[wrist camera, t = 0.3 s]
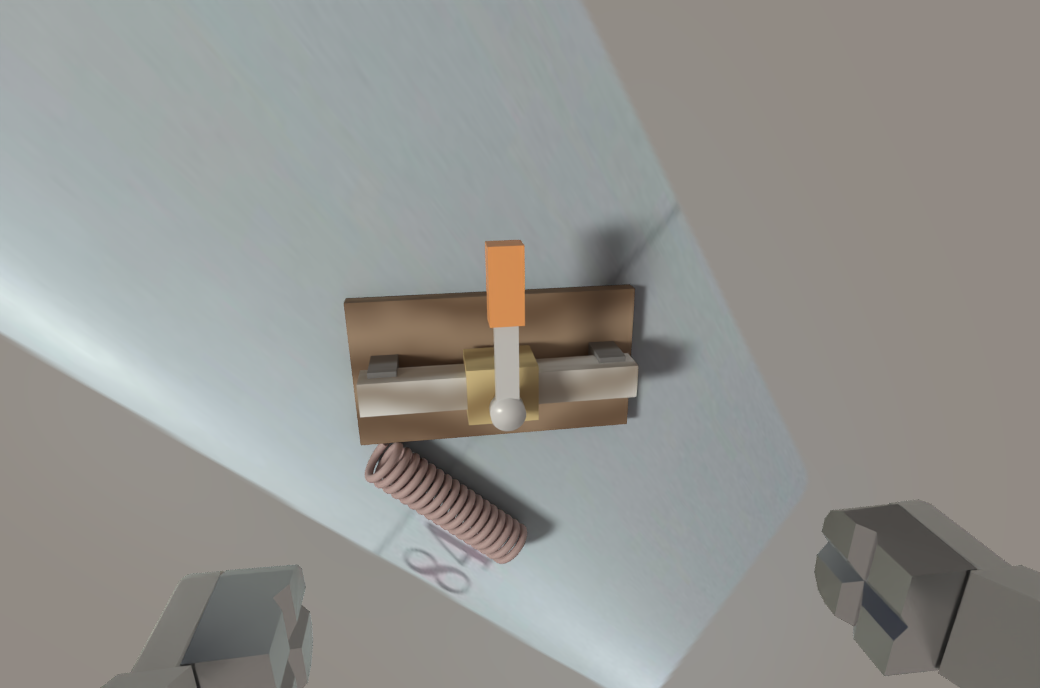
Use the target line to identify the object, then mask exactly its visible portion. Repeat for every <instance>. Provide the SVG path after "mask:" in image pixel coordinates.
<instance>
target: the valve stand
mask: <svg viewBox="0 0 1040 688" xmlns="http://www.w3.org/2000/svg"><path fill="white" fill-rule="evenodd" d="M634 296H635V288H633V287H632V286H631V285H630V284H629V285H608V286H588V287H568V288H548V289H528V290H525V326H519V397H520V398H521V399H522V401H523V404H524V407H525V410H526V419H525V421H524V423H523V424H522V425H521V426H520V427H519V428H518V429H516V430H513V431H502V430H499V429H498V428H496V427H495V426H494V425H493V423H492V420H491V416H490V411H489V406H490V402H491V401H492V399H493V398H494V397H495V366H494V329H493V328H490V326H489V323H488V320H487V292H467V293H447V294H427V295H407V296H386V297H366V298H346V299H345V302H344V310H345V318H346V326H347V335H348V343H349V351H350V360H351V368H352V376H353V385H354V393H355V402H356V410H357V418H358V427H359V435H360V443H361V445H370V444H383V443H395V442H407V441H420V440H432V439H445V438H457V437H469V436H482V435H494V434H507V433H519V432H531V431H544V430H556V429H569V428H581V427H593V426H606V425H618V424H627V411H628V397H636V395H637V380H638V365H637V363H636V362H635V361H634V360H633V359H632V357H631V345H632V329H633V312H634Z"/></svg>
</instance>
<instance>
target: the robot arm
mask: <svg viewBox="0 0 1040 688" xmlns="http://www.w3.org/2000/svg"><path fill="white" fill-rule="evenodd" d="M822 533H823V534H824V536H825V538H826V539H827V541H828V543H827V544H826V545H825V546H824V547H823V549H822V550H821V551H820V552H819V553H818V554H817V558H816V564H815V571H814V573H815V578H816V582H817V587H818V590H819V593H820V595H821V596H822V599H823V600H824V603H825V604H826V605H827V607H828V608H829V609H830V610H831V612H832V613H833V614H834V616H836V617H838V618H840V619H841V620H843V621H845V622H847V623H849V624H851V625H852V626H853V630H854V640H855V641H856V643H857V644H858V645H859V646H860V647H861V649H862V650H863V651H864V652H865V653H866V655H867V656H868V657H869V658H870V660H871V661H872V662H873V663H874V664H875V666H876V667H877V668H878V669H879V670H880V672H881V673H882V674H883V675H884V676H890V675H899V674H908V673H917V672H926V671H934V670H939V671H938V674H940V675H941V676H943V677H945V678H946V679H948V680H949V681H951V682H952V683H954V684H955V685H957V686H958V687H960V688H1040V572H1038V571H1035V570H1032V569H1030V568H1027V567H1024V566H1022V565H1018V566H1011V565H1010V564H1009V563H1007V562H1006V561H1005V560H1003V559H1002V558H1001V557H999V556H998V555H997V554H996V553H994V552H993V551H992V550H990V549H989V548H988V547H987V546H985V545H984V544H983V543H981V542H980V541H979V540H977V539H976V538H975V537H973V536H972V535H971V534H970V533H968V532H967V531H966V530H964V529H963V528H962V527H960V526H959V525H958V524H956V523H955V522H954V521H953V520H951V519H950V518H949V517H947V516H946V515H945V514H943V513H942V512H941V511H940V510H938V509H937V508H936V507H934V506H933V505H932V504H930V503H927V502H925V501H922V500H910V501H903V502H895V503H889V504H887V505H875V506H866V507H858V508H848V509H839V510H831V511H830V512H829V514H828V515H827V516H826V518H825V520H824V524H823V529H822ZM305 588H306V586H305V582H304V577H303V572H302V568H301V567H300V566H299V565H287V566H275V567H263V568H251V569H250V568H249V569H237V570H226V571H225V572H223V571H220V572H219V571H218V572H207V573H196V574H188V575H186V576H185V577H184V578H182V579H181V580H180V581H179V582H178V584H177V586H176V588H175V590H174V592H173V594H172V596H171V597H170V599H169V601H168V603H167V605H166V607H165V609H164V611H163V612H162V614H161V616H160V618H159V620H158V622H157V624H156V626H155V627H154V629H153V631H152V633H151V635H150V637H149V639H148V641H147V642H146V644H145V646H144V648H143V650H142V652H141V654H140V656H139V657H138V660H137V661H136V663H135V665H134V667H133V669H132V671H131V672H130V673H124V674H118V675H116V676H115V677H114V678H112V679H111V680H110V681H109V682H107V683H106V684H105V685H104V686H102V687H101V688H303V687H304V686H305V685H306V684H307V683H308V678H309V673H310V668H311V660H312V646H313V637H312V622H311V617H310V611H308V610H307V609H306V608H305V607H304V606H302V605H301V604H302V600H303V596H304V592H305Z"/></svg>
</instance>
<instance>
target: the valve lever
mask: <svg viewBox="0 0 1040 688" xmlns="http://www.w3.org/2000/svg"><path fill="white" fill-rule="evenodd" d="M485 257H486V290H487V320H488V323H489V326H490V328H493V329H494V366H495V397H494V398H493V399H492V401H491V402H490V406H489V411H490V416H491V420H492V423H493V425H494V426H495V427H496V428H498V429H499V430H502V431H513V430H516V429H518V428H519V427H520V426H521V425H522V424H523V423H524V421H525V419H526V410H525V407H524V404H523V401H522V399H521V398H520V397H519V326H525V262H524V244H523V243H522V242H521V240H504V241H485Z"/></svg>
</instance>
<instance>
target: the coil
mask: <svg viewBox="0 0 1040 688" xmlns="http://www.w3.org/2000/svg"><path fill="white" fill-rule="evenodd" d="M388 445H389V443H383V444H379V445H378V446H377V447H376V449H375V450H374V452H373V454H372V455H371V457H370V459H369V461H368V464H367V466H366V470H365V478H366V480H367V481H368V482H370V483H374V485H375V486H376V487H377V488H382V489H383V491H384V492H385V493H387V494H391V495H392V497H393V498H395V499H399V500H400V502H401V503H403V504H408V506H409V508H411V509H413V510H416V511H417V512H418V513H419V514H421V515H424V516H425V517H426V518H427V519H428V520H432V521H433V522H434V523H435V524H436V525H440V526H441V527H442V528H443V529H444V530H448V531H449V533H451V534H452V535H456V537H457V538H459V539H460V540H463V541H464V542H465V543H467V544H469V545H471V546H472V547H473V548H475V549H478V550H479V551H480V552H481V553H482V554H486V555H487V556H488V557H489V558H491V559H493V560H494V561H495V562H497V563H499V564H504V563H507V562H509V561H511V560H512V559H514V558H515V557H516V556H517V555H518V553H519V552H520V551H521V549H522V548H523V546H524V544H525V541H526V538H527V529H526V526H525V525H524V524H522V523H519V522H518V521H517V520H516V519H513V518H512V517H511V516H510V515H509V514H505V513H504V511H503V510H501V509H497V507H496V506H495V505H493V504H490V502H489V501H488V500H486V499H482V497H481V496H480V495H478V494H475V492H474V491H473V490H471V489H467V487H466V486H465V485H463V484H460V483H459V481H458V480H456V479H452V477H451V476H450V475H449V474H444V472H443V470H441V469H436V466H435V465H434V464H432V463H430V464H428V461H427V460H426V459H425V458H420V456H419V454H418V453H412V452H411V449H410V448H408V447H404V448H403V444H402V443H401V442H395V443H393V444H392V445H391V446H390V447H389V448H388V449H387V451H386V452H385V453H384V455H383V456H382V458H381V460H380V461H379V463H378V465H377V468H376V470H375V473H374V474H373V471H374V468H375V465H376V463H377V461H378V459H379V457H380V456H381V454H382V453H383V451H384V450H385V449H386V447H387V446H388ZM406 469H407V470H406ZM416 472H417V473H416ZM415 473H416V474H415ZM414 475H415V476H414ZM413 476H414V477H413ZM425 476H426V477H425ZM424 477H425V479H424V481H423V482H422V484H421V485H420V483H421V481H422V480H423V478H424ZM382 478H383V479H382ZM412 478H413V479H412ZM434 480H435V481H434ZM433 481H434V483H433V485H432V486H431V488H430V489H429V491H428V492H427V493H426V491H427V489H428V488H429V486H430V485H431V483H432V482H433ZM390 484H391V485H390ZM419 485H420V486H419ZM442 485H443V487H442V488H441V490H440V491H439V492H438V490H439V489H440V487H441V486H442ZM451 488H452V490H451V491H450V493H449V494H448V492H449V490H450V489H451ZM437 492H438V494H437V496H436V498H435V499H434V500H433V498H434V496H435V495H436V493H437ZM459 493H460V495H459V496H458V494H459ZM447 494H448V495H447ZM446 496H447V497H446ZM457 496H458V497H457ZM467 498H468V499H467ZM444 499H445V500H444ZM466 499H467V500H466ZM443 500H444V502H443ZM442 502H443V504H442V505H441V503H442ZM474 503H475V504H474ZM440 505H441V506H440ZM450 507H451V508H450ZM482 507H483V508H482ZM449 508H450V510H449ZM448 510H449V512H448ZM447 512H448V513H447ZM456 515H457V516H456ZM455 516H456V518H455ZM463 521H464V522H463ZM462 522H463V524H462ZM470 527H471V528H470ZM519 532H520V534H519ZM477 533H478V534H477ZM509 536H510V537H509ZM518 536H519V538H518ZM508 537H509V539H508ZM484 538H485V539H484ZM517 538H518V541H517ZM507 539H508V541H507V542H506V540H507ZM516 541H517V543H516V545H515V546H514V544H515V542H516ZM505 542H506V543H505ZM504 543H505V545H504V546H503V547H502V548H500V547H501V546H502V545H503V544H504ZM491 544H492V545H491ZM513 546H514V547H513ZM512 547H513V549H512V550H511V548H512ZM499 548H500V549H499ZM498 549H499V550H498ZM510 550H511V551H510ZM509 551H510V552H509ZM508 552H509V553H508Z"/></svg>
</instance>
